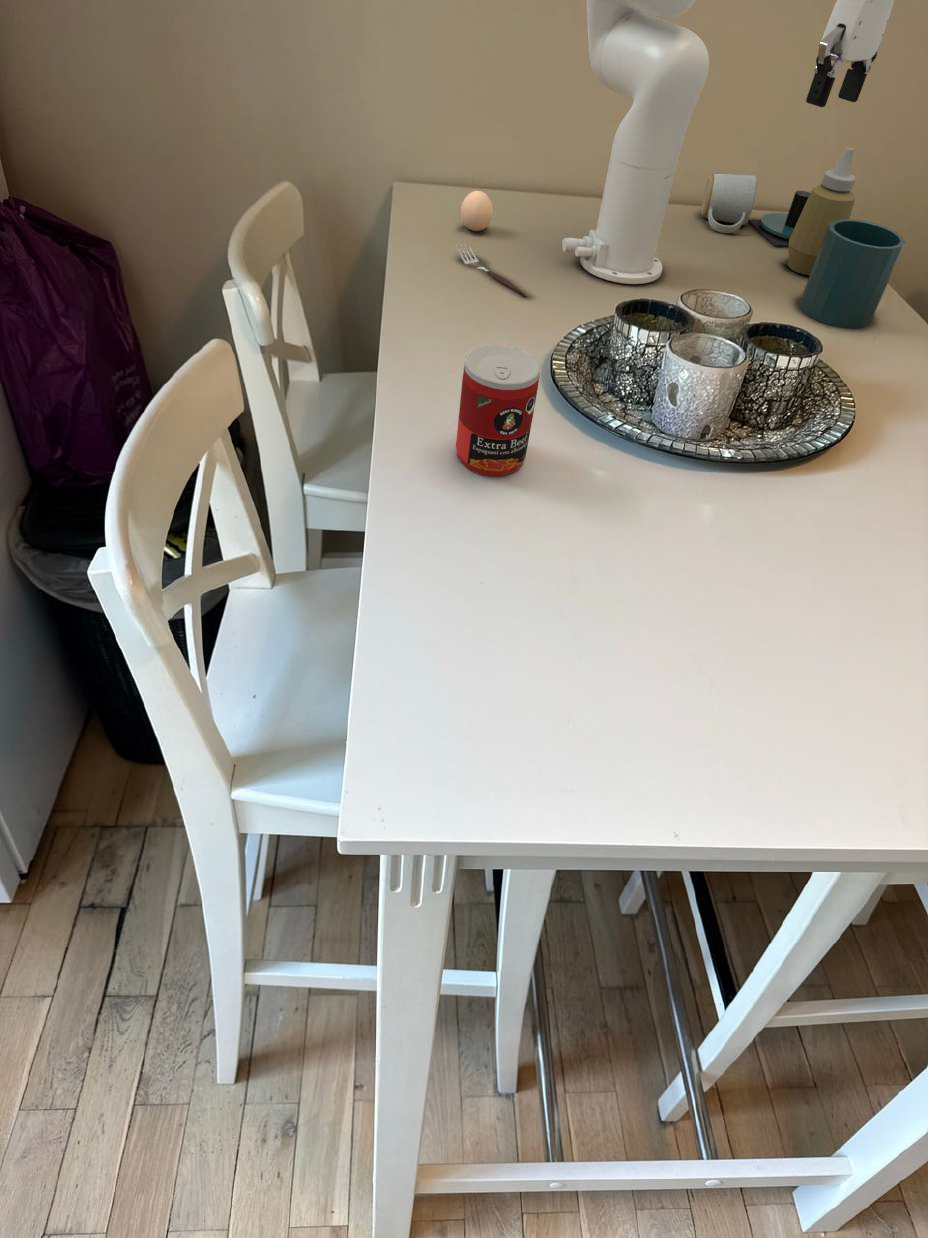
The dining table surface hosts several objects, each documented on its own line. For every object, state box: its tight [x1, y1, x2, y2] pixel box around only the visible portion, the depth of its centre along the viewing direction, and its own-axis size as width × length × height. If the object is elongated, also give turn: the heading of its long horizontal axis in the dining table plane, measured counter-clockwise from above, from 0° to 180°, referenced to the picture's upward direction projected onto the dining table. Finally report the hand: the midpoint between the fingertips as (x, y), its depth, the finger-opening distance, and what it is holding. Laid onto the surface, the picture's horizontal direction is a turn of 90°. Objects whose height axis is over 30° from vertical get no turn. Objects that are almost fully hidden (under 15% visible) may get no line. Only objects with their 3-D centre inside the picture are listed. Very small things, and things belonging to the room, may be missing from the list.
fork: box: [455, 243, 528, 298], centre depth 129 cm, size 3×16×2 cm, turn 36°
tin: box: [799, 218, 906, 329], centre depth 127 cm, size 10×10×12 cm
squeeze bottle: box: [787, 146, 856, 276], centre depth 136 cm, size 8×8×18 cm
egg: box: [460, 190, 494, 232], centre depth 139 cm, size 5×5×6 cm
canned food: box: [455, 344, 541, 477], centre depth 91 cm, size 8×8×11 cm
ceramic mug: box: [700, 173, 758, 234], centre depth 151 cm, size 11×8×8 cm
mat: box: [747, 219, 789, 248], centre depth 153 cm, size 11×11×1 cm
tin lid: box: [760, 190, 811, 239], centre depth 151 cm, size 11×11×6 cm
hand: (831, 102), depth 138 cm, fingers open, 9 cm apart
